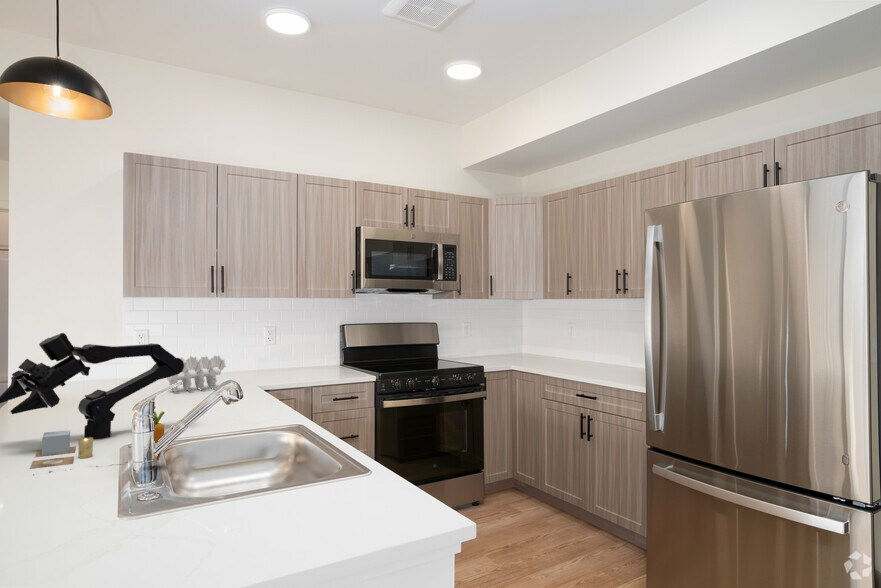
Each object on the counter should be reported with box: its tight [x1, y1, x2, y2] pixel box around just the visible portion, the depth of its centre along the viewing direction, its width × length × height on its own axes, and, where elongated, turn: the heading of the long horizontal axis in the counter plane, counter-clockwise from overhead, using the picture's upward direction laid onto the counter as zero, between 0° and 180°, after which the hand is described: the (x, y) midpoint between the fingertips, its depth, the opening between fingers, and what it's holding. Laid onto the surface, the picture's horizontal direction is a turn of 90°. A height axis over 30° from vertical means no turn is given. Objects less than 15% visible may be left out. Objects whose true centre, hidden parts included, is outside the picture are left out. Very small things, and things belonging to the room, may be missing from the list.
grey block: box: [41, 430, 71, 457], centre depth 148 cm, size 6×6×5 cm
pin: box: [77, 436, 94, 459], centre depth 143 cm, size 3×3×6 cm
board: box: [34, 446, 77, 458], centre depth 148 cm, size 9×8×4 cm
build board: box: [29, 455, 75, 470], centre depth 138 cm, size 9×8×1 cm
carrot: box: [153, 411, 166, 461], centre depth 138 cm, size 5×5×15 cm
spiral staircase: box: [166, 354, 226, 393], centre depth 264 cm, size 18×18×25 cm
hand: (3, 407), depth 146 cm, fingers open, 9 cm apart
